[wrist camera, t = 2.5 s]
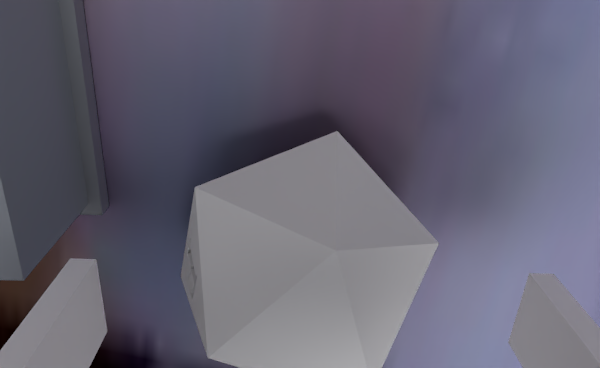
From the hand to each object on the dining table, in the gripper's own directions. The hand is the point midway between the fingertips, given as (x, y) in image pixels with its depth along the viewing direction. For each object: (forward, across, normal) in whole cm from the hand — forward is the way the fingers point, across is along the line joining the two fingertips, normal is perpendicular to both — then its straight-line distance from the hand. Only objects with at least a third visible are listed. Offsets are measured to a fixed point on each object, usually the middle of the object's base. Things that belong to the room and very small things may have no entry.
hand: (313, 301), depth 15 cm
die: (+7, 0, 0) cm, 7 cm away
